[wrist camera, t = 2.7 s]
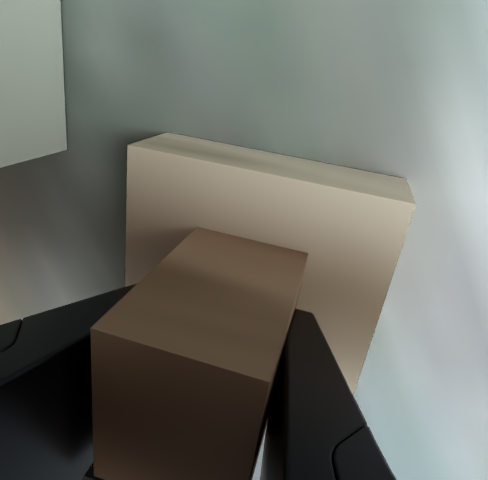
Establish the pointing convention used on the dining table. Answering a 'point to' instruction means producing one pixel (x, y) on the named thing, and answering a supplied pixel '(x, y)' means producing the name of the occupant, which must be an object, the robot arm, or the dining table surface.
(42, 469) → the robot arm
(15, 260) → the dining table surface
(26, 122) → the deck
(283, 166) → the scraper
